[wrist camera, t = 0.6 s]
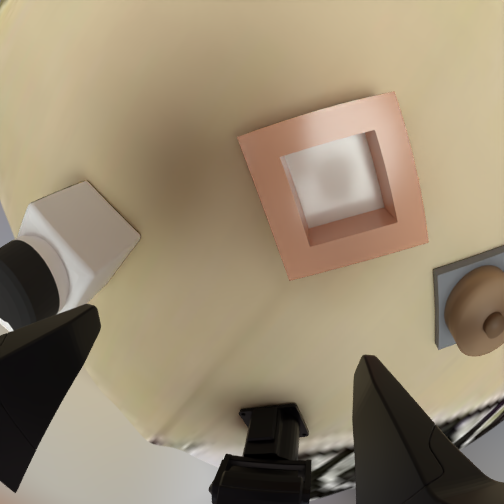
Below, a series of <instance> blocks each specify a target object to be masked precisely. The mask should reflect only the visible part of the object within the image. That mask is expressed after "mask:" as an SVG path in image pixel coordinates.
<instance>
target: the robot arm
mask: <svg viewBox="0 0 504 504" xmlns="http://www.w3.org/2000/svg"><path fill="white" fill-rule="evenodd" d="M100 329H101V323H100V319H99V314H98V310H97V308H96V306H94V305H90V304H84V305H81V306H78V307H76V308H73V309H70V310H67V311H65V312H62V313H59V314H57V315H54V316H51V317H49V318H46V319H43V320H41V321H38V322H35V323H32V324H30V325H27V326H24V327H22V328H19V329H16V330H14V331H11V332H9V333H8V334H7V333H6V334H3V335H1V336H0V481H1V482H2V483H3V484H4V485H6V486H7V487H8V488H10V489H11V490H12V491H13V492H15V493H16V491H17V489H18V488H19V485H20V483H21V481H22V479H23V476H24V474H25V472H26V470H27V468H28V466H29V464H30V462H31V459H32V458H33V456H34V453H35V451H36V450H35V449H37V447H38V445H39V443H40V441H41V439H42V437H43V435H44V434H45V432H46V430H47V428H48V426H49V424H50V422H51V420H52V419H53V417H54V415H55V413H56V411H57V409H58V408H59V406H60V404H61V402H62V400H63V398H64V397H65V395H66V393H67V392H68V390H69V388H70V387H71V385H72V383H73V381H74V380H75V378H76V376H77V375H78V373H79V371H80V370H81V368H82V366H83V365H84V363H85V361H86V359H87V357H88V355H89V352H90V350H91V348H92V346H93V344H94V342H95V340H96V338H97V336H98V334H99V332H100ZM239 415H240V416H241V418H242V419H243V421H244V422H245V424H246V425H247V427H248V433H247V438H246V442H245V447H244V452H243V456H233V455H231V454H226V455H225V457H224V460H222V462H221V464H220V467H219V469H218V472H217V474H216V476H215V479H214V481H213V482H212V484H211V485H210V487H209V492H210V493H211V494H212V503H213V504H309V499H310V487H311V460H298V448H299V437H306V436H308V435H309V431H308V429H307V427H306V425H305V422H304V420H303V418H302V416H301V414H300V411H299V409H298V407H297V405H296V404H285V405H278V406H269V407H260V408H249V409H241V410H240V412H239ZM352 421H353V437H354V453H355V474H356V504H504V483H503V482H498V481H495V480H493V479H490V478H489V477H487V476H486V475H485V474H484V473H482V472H481V471H480V470H479V469H478V468H477V467H476V466H475V465H474V464H473V463H472V462H471V461H470V460H469V459H468V458H467V457H466V456H465V455H463V453H461V452H460V451H459V450H458V449H457V448H456V447H455V446H454V445H453V444H452V443H451V441H450V440H449V439H448V438H447V437H446V436H445V435H444V434H443V433H442V431H441V430H440V429H439V428H438V427H437V426H436V425H435V423H434V422H433V421H432V420H431V419H430V417H429V416H428V415H427V414H426V413H425V412H424V411H423V409H422V408H421V407H420V406H419V405H418V404H417V402H416V401H415V400H414V399H413V398H412V397H411V396H410V394H409V393H408V392H407V391H406V390H405V389H404V388H403V386H402V385H401V384H400V383H399V382H398V381H397V380H396V378H395V377H394V376H393V375H392V374H391V373H390V372H389V371H388V369H387V368H386V367H385V366H384V365H383V364H382V363H381V362H380V360H379V359H378V358H377V357H376V356H374V355H363V356H362V357H361V359H360V362H359V364H358V366H357V369H356V371H355V374H354V384H353V416H352ZM434 425H435V426H434Z"/></svg>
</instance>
